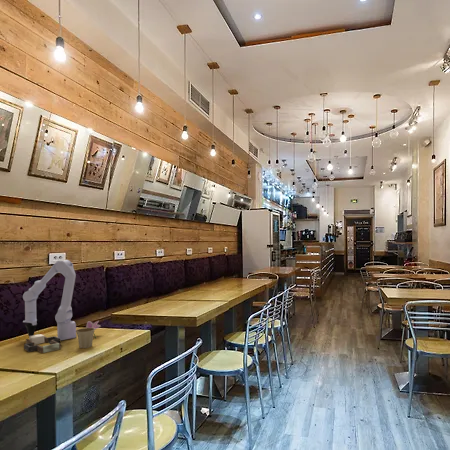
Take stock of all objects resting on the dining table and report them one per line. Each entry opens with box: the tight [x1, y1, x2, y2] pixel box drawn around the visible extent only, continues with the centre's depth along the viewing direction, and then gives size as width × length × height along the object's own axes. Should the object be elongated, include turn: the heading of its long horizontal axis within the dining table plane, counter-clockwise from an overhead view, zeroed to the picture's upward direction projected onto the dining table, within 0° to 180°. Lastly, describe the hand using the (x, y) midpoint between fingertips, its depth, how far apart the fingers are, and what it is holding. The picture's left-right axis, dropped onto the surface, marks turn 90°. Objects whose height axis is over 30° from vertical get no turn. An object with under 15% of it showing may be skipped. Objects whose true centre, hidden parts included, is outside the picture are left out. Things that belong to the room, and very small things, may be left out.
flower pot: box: [76, 327, 96, 349], centre depth 196 cm, size 9×9×9 cm
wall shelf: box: [23, 335, 62, 354], centre depth 200 cm, size 17×27×3 cm, turn 42°
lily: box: [85, 320, 102, 339], centre depth 216 cm, size 12×12×10 cm
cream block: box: [28, 333, 45, 346], centre depth 208 cm, size 6×6×4 cm
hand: (31, 336), depth 216 cm, fingers closed
